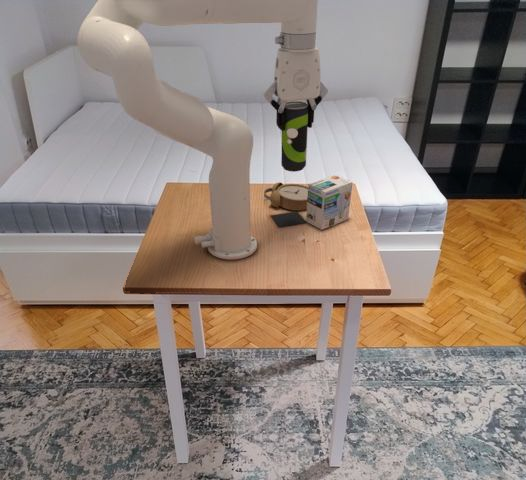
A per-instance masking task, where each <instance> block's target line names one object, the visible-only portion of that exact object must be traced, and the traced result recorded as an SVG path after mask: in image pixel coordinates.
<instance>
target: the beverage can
mask: <svg viewBox="0 0 526 480" xmlns="http://www.w3.org/2000/svg"><path fill="white" fill-rule="evenodd" d="M307 106H308V105H307V102H305V101H301V100H295V101H287V103H286V105H285V108H284V113H285V130H284V131H282V130H281V159H280V160H281V163H280V164H281V167H282V169H284V170H285V171H287V172H292V173H293V172H295V173H296V172H301V171H302V170H304V169H305V168H306V166H307V151H308V128H309V127H308V108H307Z"/></svg>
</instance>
